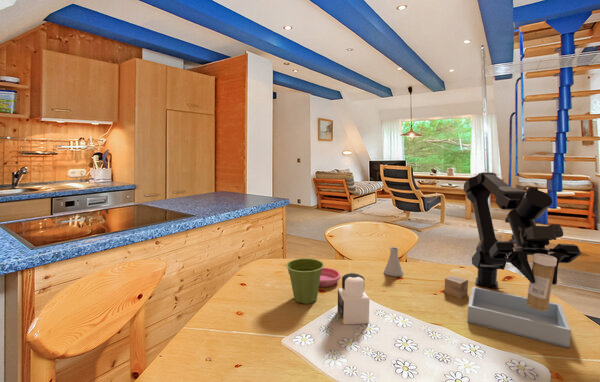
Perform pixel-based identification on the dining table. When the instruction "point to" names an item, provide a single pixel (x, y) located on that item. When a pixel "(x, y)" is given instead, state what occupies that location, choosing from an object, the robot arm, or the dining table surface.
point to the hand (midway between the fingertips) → (544, 283)
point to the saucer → (328, 277)
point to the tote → (518, 317)
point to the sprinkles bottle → (541, 281)
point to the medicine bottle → (353, 300)
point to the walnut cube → (456, 286)
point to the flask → (393, 264)
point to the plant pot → (305, 278)
